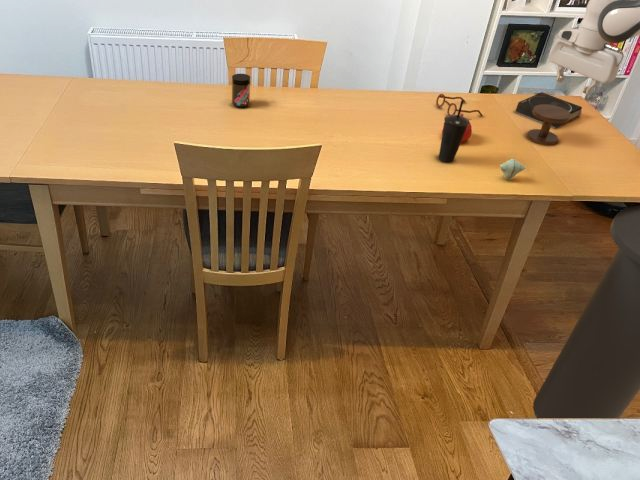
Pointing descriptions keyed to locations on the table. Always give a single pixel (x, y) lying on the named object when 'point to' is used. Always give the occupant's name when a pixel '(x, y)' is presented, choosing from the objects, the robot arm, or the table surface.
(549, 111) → the brown round base
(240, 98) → the supplement container
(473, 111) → the glasses
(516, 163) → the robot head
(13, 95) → the table surface
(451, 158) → the drinking cup
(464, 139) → the red tomato
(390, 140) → the table surface
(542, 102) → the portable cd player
